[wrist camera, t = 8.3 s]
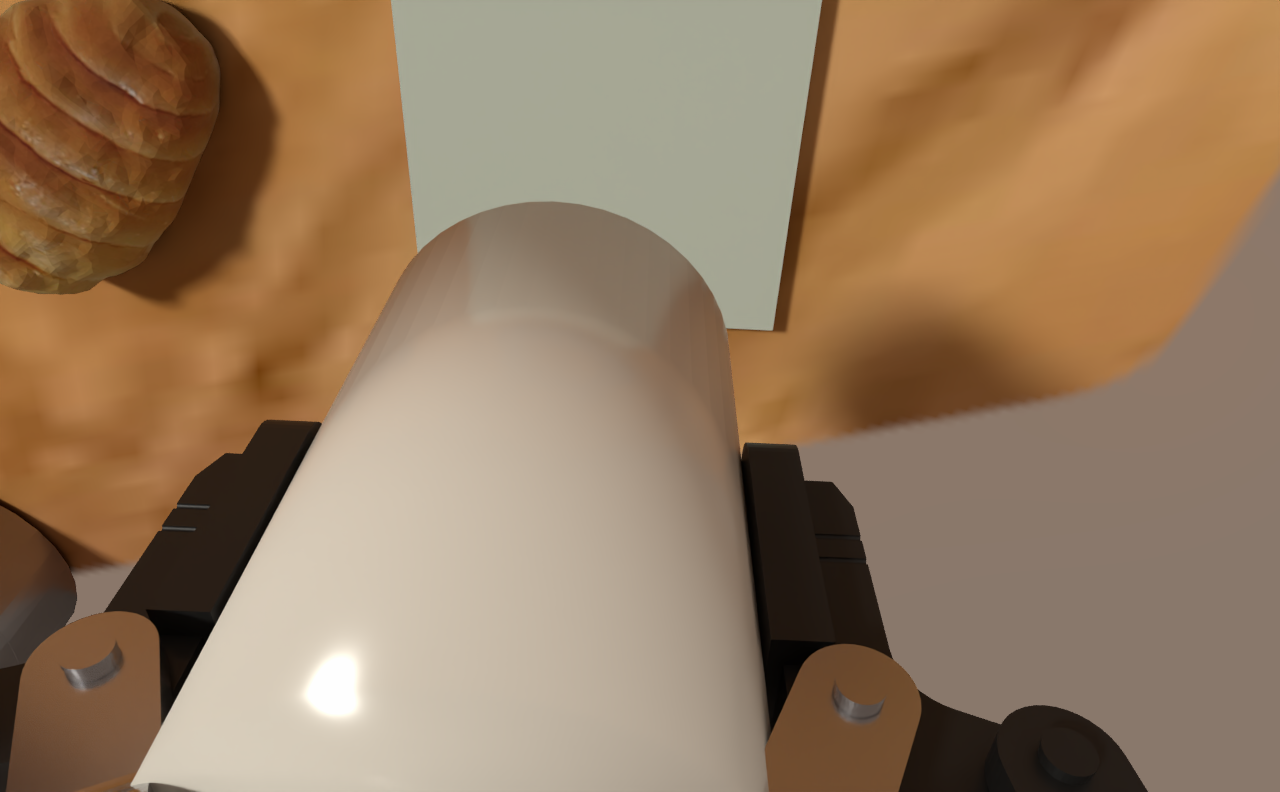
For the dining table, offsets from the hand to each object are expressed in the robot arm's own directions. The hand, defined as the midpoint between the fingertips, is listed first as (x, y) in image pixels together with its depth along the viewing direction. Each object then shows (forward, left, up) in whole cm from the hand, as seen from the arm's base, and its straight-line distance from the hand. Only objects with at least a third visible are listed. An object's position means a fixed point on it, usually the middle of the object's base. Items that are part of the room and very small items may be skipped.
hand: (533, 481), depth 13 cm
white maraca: (-3, 0, -3) cm, 4 cm away
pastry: (-1, +15, -16) cm, 22 cm away
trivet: (0, 0, -15) cm, 15 cm away
